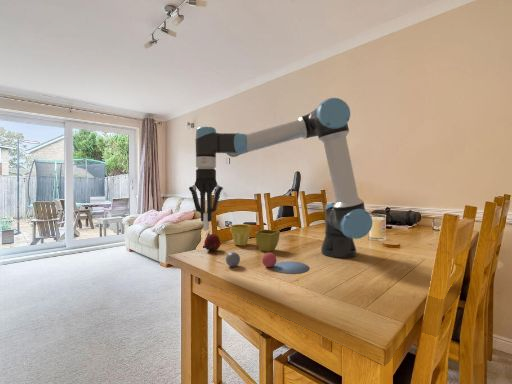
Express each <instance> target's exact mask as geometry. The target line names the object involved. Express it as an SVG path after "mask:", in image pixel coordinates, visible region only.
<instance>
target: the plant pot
mask: <svg viewBox="0 0 512 384" xmlns="http://www.w3.org/2000/svg"><path fill="white" fill-rule="evenodd" d="M229 229H230V233H231V236H232V240H233V244H235V245H234V246H236V245H239V246H240V247H243V246H244V247H245V246H247V245H248V242H249V236H250V233H251V225H249V224H243V223H242V224H239V223H237V224H232V225H230V227H229ZM239 246H238V247H239Z"/></svg>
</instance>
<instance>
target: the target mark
mask: <svg viewBox="0 0 512 384" xmlns="http://www.w3.org/2000/svg"><path fill="white" fill-rule="evenodd" d="M271 268H272V270H274V271H275V272H278V273H280V274H281V273H282V274H289V275H291V274H293V275H294V274H295V275H296V274H297V275H298V274H303V273H306V272H308V271H309V269H310V267H309V265H308V264H305V263H304V262H300V261H294V260H286V261H284V260H281V261H278V262H277V261H276V264H275V265H274V266H273V267H271Z"/></svg>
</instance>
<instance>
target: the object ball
mask: <svg viewBox="0 0 512 384" xmlns="http://www.w3.org/2000/svg"><path fill="white" fill-rule="evenodd" d="M261 262H262V264H263V266H265V267H266V268H272V267H273V266H274V265H275V264H276V263H277V257H276V255H275V254H274V253H273V252H266V253H264V254H263V256H262V259H261Z"/></svg>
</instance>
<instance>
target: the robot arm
mask: <svg viewBox="0 0 512 384" xmlns="http://www.w3.org/2000/svg"><path fill="white" fill-rule="evenodd" d="M350 117H351V109H350V106H349V104H348V103H347V102H346V101H344V100H343V99H341V98H339V97H329V98H327V99H325V100H324V101H322V102H320V103H319V104H318V106H317V107H316V108H314V109H313V111H311V112H309V113H308V114H305V115H303V116H299V117H298V119H297V120H294V121H289V122H286V123H282V124H278V125H276V126H271V127H268V128H265V129H261V130H257V131H254V132H251V133H240V132H237V133H233V132H232V133H227V132H225V133H223V132H222V133H218V132H217V130H216V128H215V127H212V126H199V127H197V129H196V130H195V167H196V170H195V182H194V185H192V186H189V188H188V190H189V191H190V193H191V196H192V200H193V204H194V209H195V212H197V213H198V212H199V213H200V221H201V222H203V231H204V232H205V231H209V230H210V222H211V221H212V216H213V215H212V214H213V213H214V212H216V211H217V210H218V209H217V208H218V204H219V200H220V196H221V192H222V191H223V189H224V187H223V186H221V185H220V184H218V182H217V170H216V169H215V168H217V154H226V155H228V156H229V157H231V158H235V157H238V156H240V155H243V154H244V155H245V154H247V153H250V152H254V151H257V150H261V149H265V148H268V147H271V146H275V145H279V144H282V143H287V142H289V141H290V142H291V141H294V140H297V139H300V138H303V139H304V140H305V139H306V140H307V139H309V138H313V137H318V140H319V141H321V142H322V143H323V146H324V147H323V148H324V151H325V155H326V160H327V161H326V162H327V165H328V170H329V174H330V179H331V184H332V189H333V193H334V198H335V202H327V203H326V205H325V208H324V212H325V217H324V218H325V219H324V220H325V222H324V223H325V225H324V226H325V228H324V232H325V233H324V239H323V242H322V244H321V248H320V249H321V251H320V252H321V254H322V255H324V256H327V257H332V258H341V259H347V258H348V259H350V258H353V257H354V258H355V257H356V256H357V247H356V244H355V242H354V239H357V240H358V239H362V238H365V237H366V236H368V235H369V233H370V231H371V230H372V227H373V218H372V216H371V214H370V213H369V212H368V211H367V210H366V207H365V203H364V202H365V201H364V200H363V199H361V198H360V197H359V195H358V194H359V193H358V189H357V183H356V179H355V174H354V170H353V166H352V160H351V155H350V149H349V145H348V141H347V136H348V134H349V133H350V130H349V129H350V128H349V124H348V123H349V121H350ZM197 190H198V191H199V195H200V201H199V197H198V193H197ZM214 190H215V191H216V192H215V196H214V200H213V201H212V199H213V196H212V195H213V192H214ZM206 205H207V206H206ZM206 207H207V211H206Z"/></svg>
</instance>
